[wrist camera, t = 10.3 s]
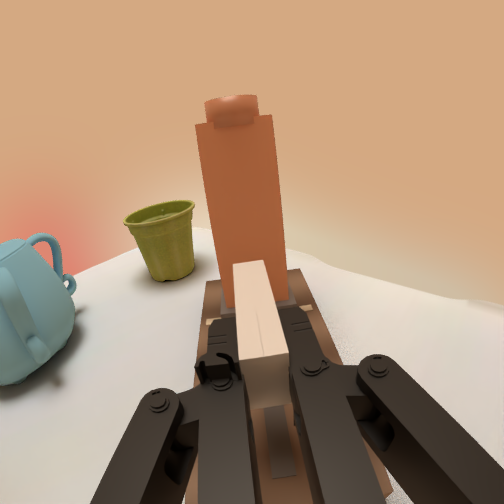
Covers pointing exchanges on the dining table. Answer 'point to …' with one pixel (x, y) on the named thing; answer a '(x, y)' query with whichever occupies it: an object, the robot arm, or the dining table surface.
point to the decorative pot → (32, 307)
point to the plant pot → (164, 238)
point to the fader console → (278, 413)
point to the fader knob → (243, 194)
